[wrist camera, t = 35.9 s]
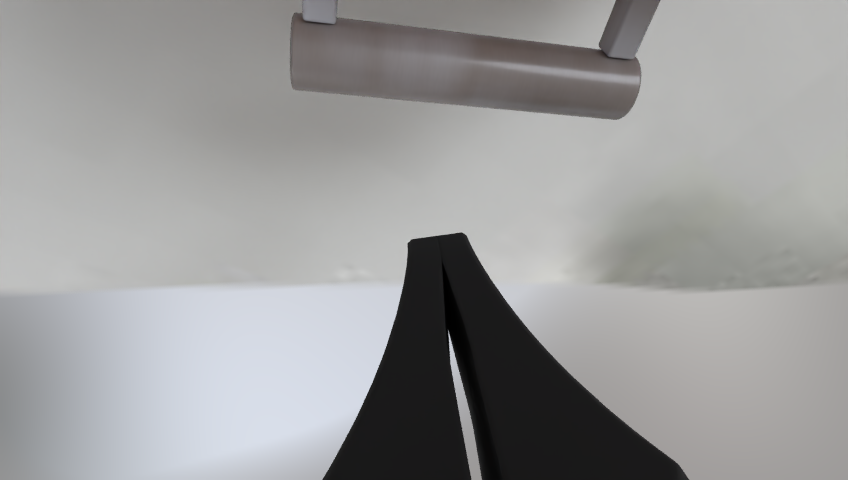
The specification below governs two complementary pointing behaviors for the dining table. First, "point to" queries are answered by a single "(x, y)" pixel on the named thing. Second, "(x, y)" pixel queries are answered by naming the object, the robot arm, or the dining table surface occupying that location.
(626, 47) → the drawer
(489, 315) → the robot arm
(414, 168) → the dining table surface
